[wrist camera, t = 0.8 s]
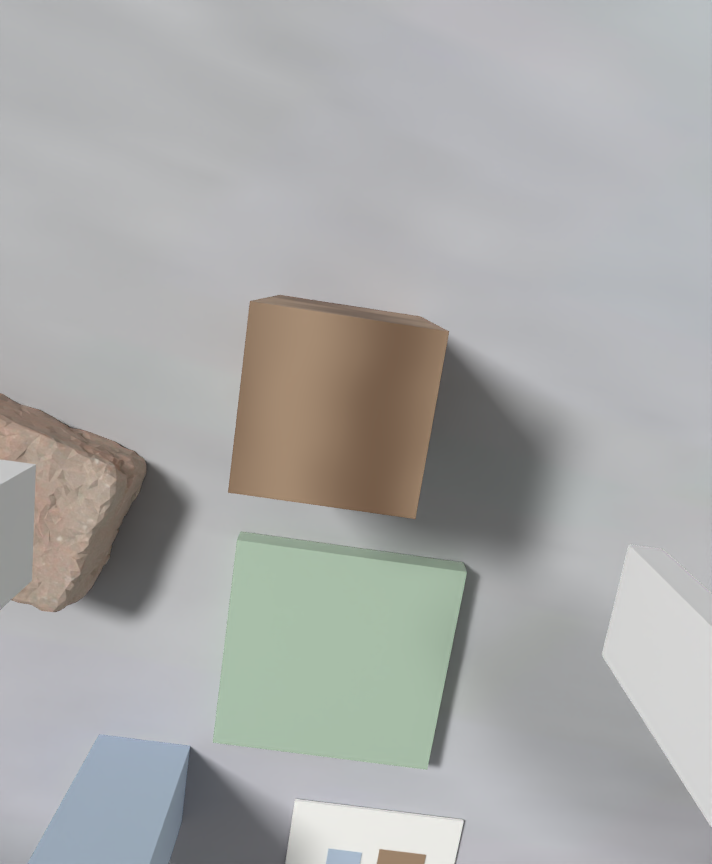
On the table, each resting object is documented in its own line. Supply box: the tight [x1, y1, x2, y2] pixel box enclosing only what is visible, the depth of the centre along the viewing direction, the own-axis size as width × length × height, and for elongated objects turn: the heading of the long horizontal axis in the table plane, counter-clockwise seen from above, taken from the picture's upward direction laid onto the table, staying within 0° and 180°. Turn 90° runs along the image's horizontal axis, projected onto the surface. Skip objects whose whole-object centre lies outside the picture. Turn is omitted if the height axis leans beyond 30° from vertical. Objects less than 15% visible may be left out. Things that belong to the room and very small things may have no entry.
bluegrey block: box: [28, 734, 190, 864], centre depth 34 cm, size 5×5×10 cm
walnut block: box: [228, 295, 449, 519], centre depth 29 cm, size 7×7×10 cm
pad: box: [213, 532, 467, 770], centre depth 37 cm, size 12×12×1 cm
